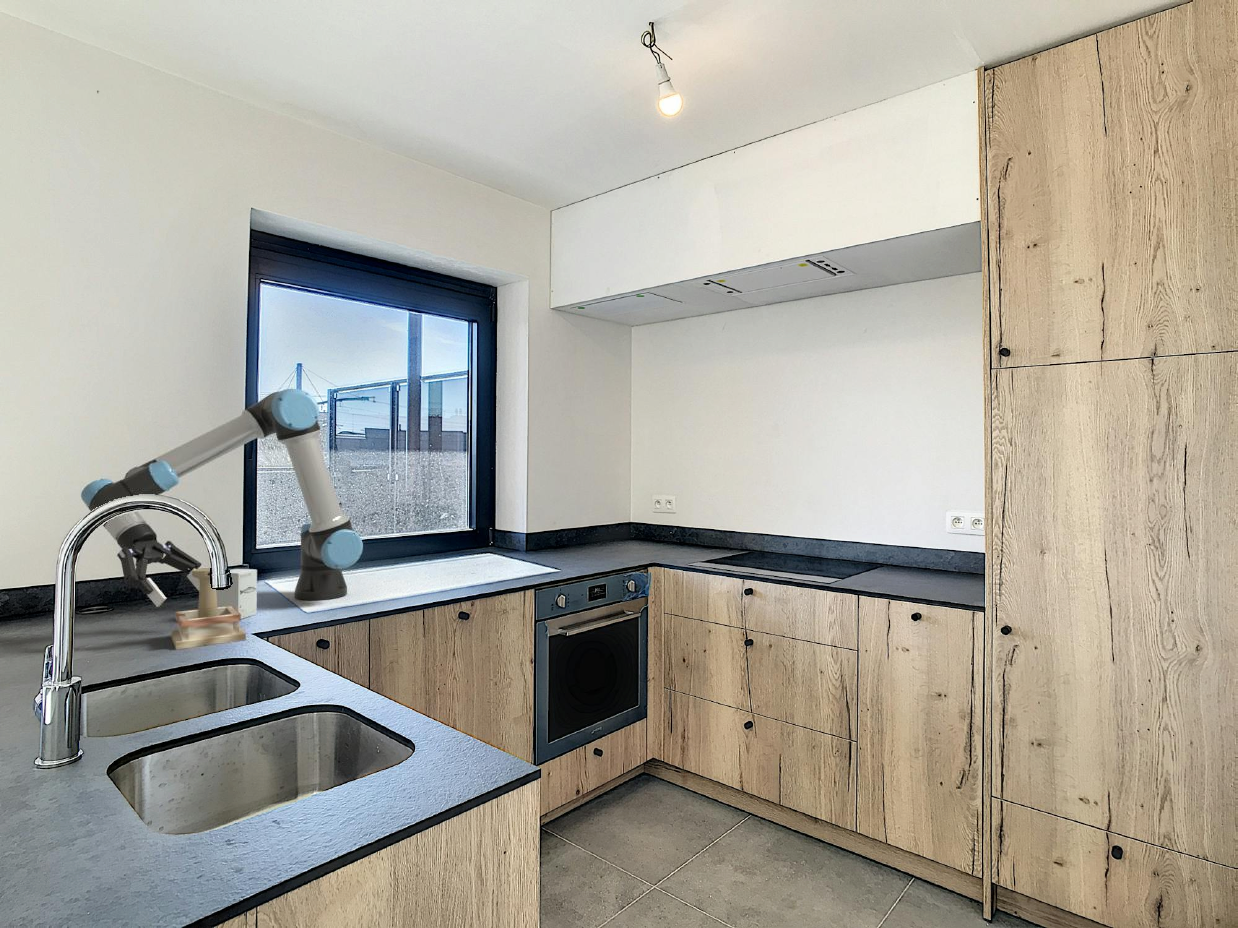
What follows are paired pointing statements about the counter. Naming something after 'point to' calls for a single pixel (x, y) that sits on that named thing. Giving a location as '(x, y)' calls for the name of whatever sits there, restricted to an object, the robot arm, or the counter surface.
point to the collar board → (207, 628)
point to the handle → (205, 594)
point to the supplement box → (240, 592)
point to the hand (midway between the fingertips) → (185, 596)
